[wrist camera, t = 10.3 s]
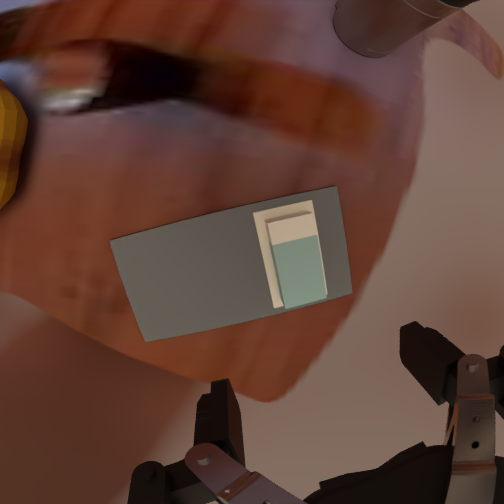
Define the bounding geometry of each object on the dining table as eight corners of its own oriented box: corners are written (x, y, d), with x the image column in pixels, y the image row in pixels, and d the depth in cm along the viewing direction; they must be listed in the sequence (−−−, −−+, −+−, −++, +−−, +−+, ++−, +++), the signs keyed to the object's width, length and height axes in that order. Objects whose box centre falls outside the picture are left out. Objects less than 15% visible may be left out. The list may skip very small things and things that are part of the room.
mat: (111, 239, 34) (108, 241, 33) (335, 185, 35) (337, 186, 34) (146, 339, 37) (144, 343, 37) (350, 291, 38) (353, 294, 37)
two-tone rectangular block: (280, 299, 37) (285, 309, 34) (263, 219, 34) (267, 223, 31) (319, 289, 37) (326, 297, 34) (305, 210, 34) (313, 212, 31)
